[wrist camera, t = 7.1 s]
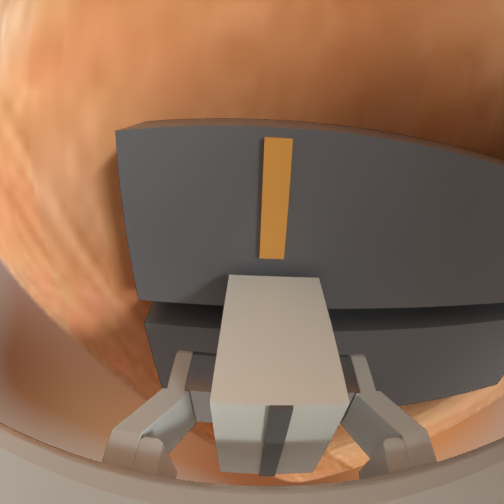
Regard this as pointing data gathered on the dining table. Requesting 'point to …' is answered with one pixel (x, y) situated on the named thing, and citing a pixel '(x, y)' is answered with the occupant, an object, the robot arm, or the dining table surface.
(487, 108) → the dining table surface
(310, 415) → the fader tab
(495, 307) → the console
